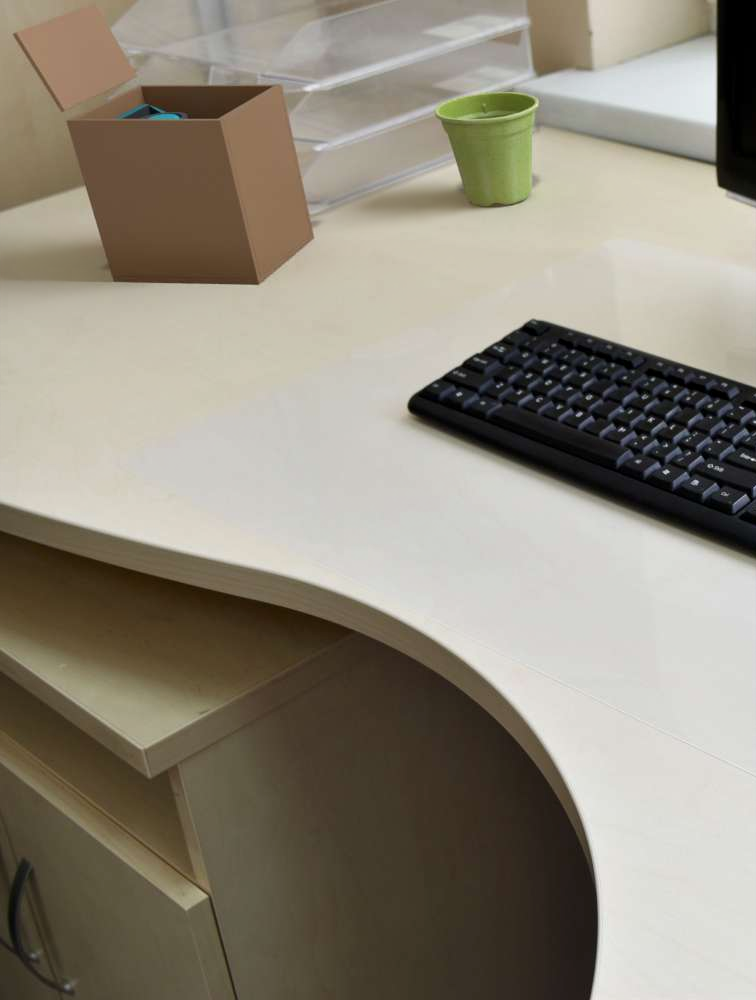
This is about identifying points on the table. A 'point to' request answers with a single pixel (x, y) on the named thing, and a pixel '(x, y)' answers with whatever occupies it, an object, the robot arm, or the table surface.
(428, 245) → the table surface
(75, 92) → the flap
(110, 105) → the carton
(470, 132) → the plant pot
